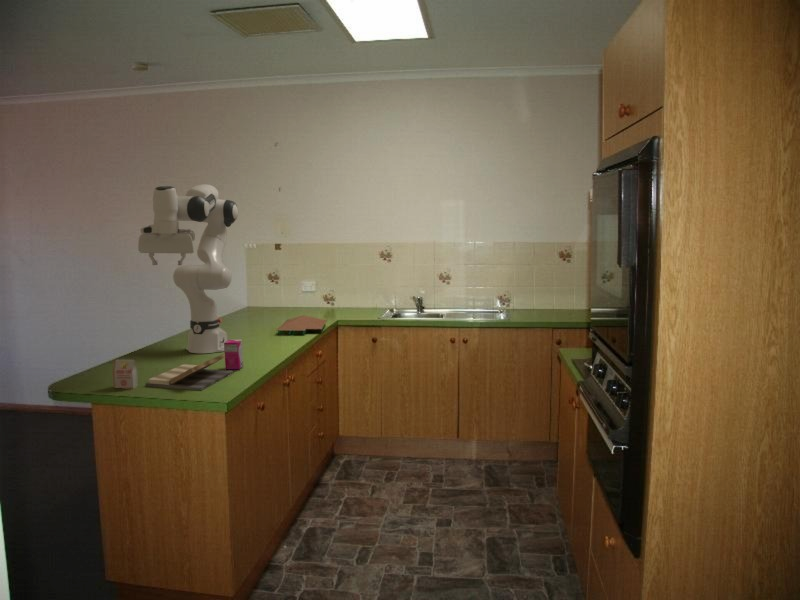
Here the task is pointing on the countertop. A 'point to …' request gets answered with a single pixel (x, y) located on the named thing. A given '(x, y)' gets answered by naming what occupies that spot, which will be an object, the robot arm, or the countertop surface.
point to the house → (302, 324)
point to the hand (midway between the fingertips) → (167, 265)
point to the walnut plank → (196, 369)
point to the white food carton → (125, 374)
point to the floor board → (188, 378)
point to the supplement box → (233, 354)
